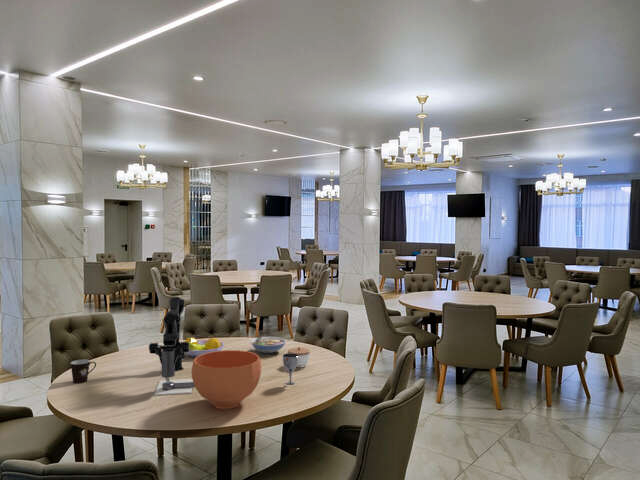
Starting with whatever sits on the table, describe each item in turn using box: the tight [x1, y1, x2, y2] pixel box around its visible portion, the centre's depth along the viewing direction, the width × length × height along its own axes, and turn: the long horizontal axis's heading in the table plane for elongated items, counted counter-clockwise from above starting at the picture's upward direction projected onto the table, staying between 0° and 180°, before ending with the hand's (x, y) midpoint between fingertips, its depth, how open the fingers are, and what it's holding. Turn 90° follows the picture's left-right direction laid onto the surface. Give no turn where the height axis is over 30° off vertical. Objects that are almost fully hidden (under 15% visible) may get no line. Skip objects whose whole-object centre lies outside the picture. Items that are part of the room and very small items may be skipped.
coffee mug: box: [70, 359, 97, 384], centre depth 233 cm, size 12×9×10 cm
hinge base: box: [153, 378, 195, 396], centre depth 225 cm, size 20×18×6 cm
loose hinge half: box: [161, 349, 176, 380], centre depth 219 cm, size 10×6×12 cm, turn 12°
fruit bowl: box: [183, 336, 225, 358], centre depth 285 cm, size 28×27×11 cm
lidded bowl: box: [287, 346, 311, 368], centre depth 263 cm, size 13×13×11 cm
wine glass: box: [282, 352, 298, 385], centre depth 231 cm, size 8×8×15 cm
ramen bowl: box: [250, 334, 287, 354], centre depth 293 cm, size 25×23×8 cm
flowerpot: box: [191, 349, 262, 410], centre depth 204 cm, size 30×30×20 cm
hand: (167, 363), depth 220 cm, fingers closed on loose hinge half, 6 cm apart
